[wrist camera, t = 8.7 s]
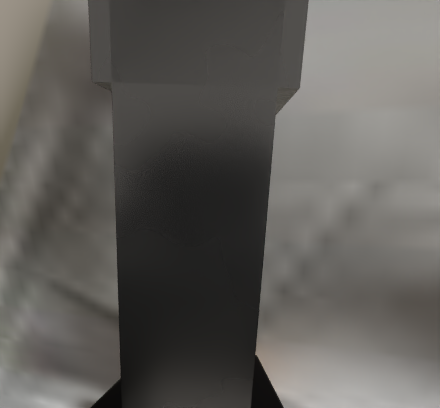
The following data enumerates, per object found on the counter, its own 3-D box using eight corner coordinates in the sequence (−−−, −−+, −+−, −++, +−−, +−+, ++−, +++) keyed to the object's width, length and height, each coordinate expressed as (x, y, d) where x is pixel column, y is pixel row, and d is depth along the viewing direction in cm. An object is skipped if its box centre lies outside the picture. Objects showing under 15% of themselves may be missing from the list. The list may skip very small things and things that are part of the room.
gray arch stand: (315, 58, 11) (513, -197, 3) (272, 452, 15) (307, 793, 7) (148, 54, 11) (-67, -170, 3) (150, 436, 15) (53, 737, 7)
